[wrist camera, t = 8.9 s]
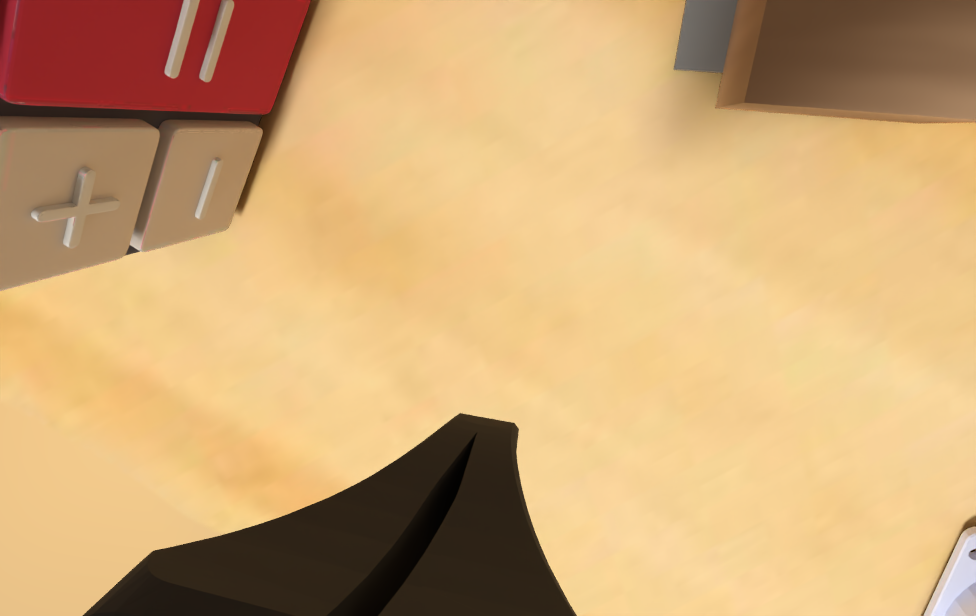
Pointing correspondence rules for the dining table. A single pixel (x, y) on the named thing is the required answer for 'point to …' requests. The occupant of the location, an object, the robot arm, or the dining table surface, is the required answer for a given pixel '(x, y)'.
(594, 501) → the dining table surface
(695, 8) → the mat
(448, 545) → the robot arm
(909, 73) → the walnut block
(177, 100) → the calculator
